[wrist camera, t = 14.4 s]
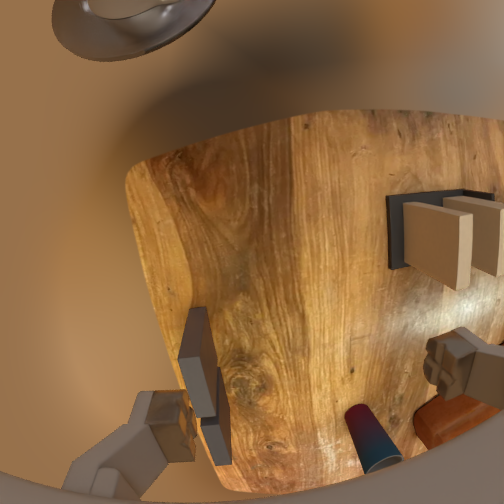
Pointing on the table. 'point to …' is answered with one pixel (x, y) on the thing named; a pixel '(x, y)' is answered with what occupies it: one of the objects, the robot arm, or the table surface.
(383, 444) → the cup
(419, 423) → the bread
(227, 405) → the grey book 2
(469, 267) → the brown flat block
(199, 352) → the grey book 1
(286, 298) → the table surface
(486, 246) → the book rack
